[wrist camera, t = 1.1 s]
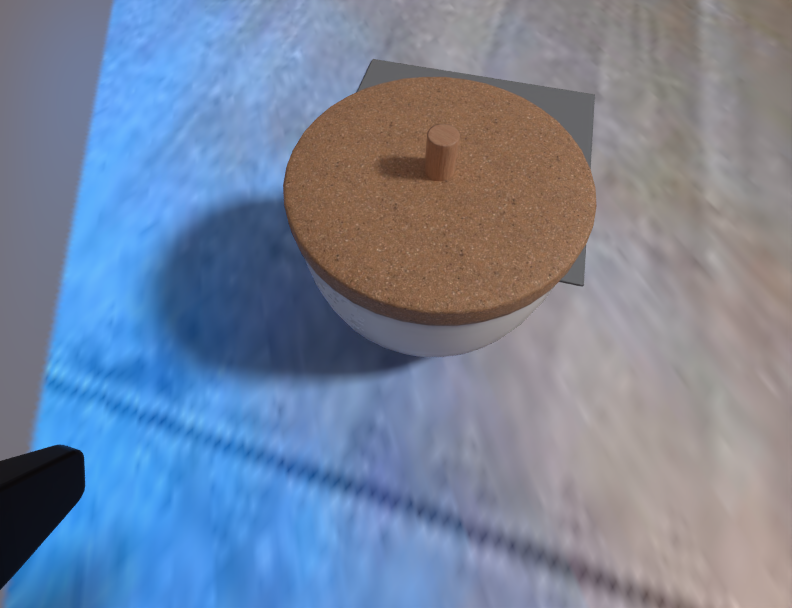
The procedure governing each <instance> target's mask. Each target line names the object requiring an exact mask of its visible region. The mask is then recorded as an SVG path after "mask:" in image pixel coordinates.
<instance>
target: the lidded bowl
mask: <svg viewBox="0 0 792 608" xmlns="http://www.w3.org/2000/svg"><path fill="white" fill-rule="evenodd" d="M283 192H284V206H285V210H286V214H287V218H288V222H289V226H290V229H291V232H292V234H293V236H294V238H295V241H296V243H297V245H298V247H299V249H300V251H301V253H302V255H303V257H304V259H305V261H306V264H307V266H308V268H309V270H310V272H311V275H312V277H313V279H314V281H315V283H316V285H317V286H318V288H319V290H320V291H321V293H322V295H323V296H324V297H325V299H326V300H327V302H328V303H329V304H330V306H331V307H332V309H333V310H334V311H335V312H336V313H337V314H338V315H339V316H340V317H341V318H342V319H343V320H344V321H345V322H346V323H347V324H348V325H349V326H350V327H351V328H352V329H353V330H355V331H356V332H357V333H359V334H360V335H362V336H363V337H365V338H366V339H368V340H369V341H371V342H374V343H376V344H378V345H380V346H382V347H384V348H386V349H389V350H393V351H396V352H399V353H402V354H407V355H413V356H419V357H447V356H455V355H462V354H465V353H469V352H472V351H475V350H479V349H481V348H483V347H485V346H487V345H490V344H492V343H494V342H496V341H498V340H499V339H501V338H502V337H504V336H505V335H507V334H508V333H510V332H511V331H513V330H514V329H515V328H517V327H518V326H520V325H521V324H522V323H523V322H524V321H525V320H526V319H527V318H528V317H529V316H530V315H531V314H532V313H533V312H534V311H535V310H536V309H537V308H538V307H539V306H540V305H541V304H542V303H543V302H544V300H545V299H546V298H547V296H548V295H549V294H550V292H551V291H552V290H553V288H554V287H555V285H556V284H557V283H558V282H559V281H560V280H561V279H562V278H563V277H564V276H565V275H566V274H567V273H568V271H569V270H570V268H571V267H572V265H573V264H574V262H575V261H576V259H577V258H578V256H579V255H580V253H581V252H582V250H583V248H584V247H585V245H586V243H587V240H588V238H589V235H590V233H591V230H592V228H593V225H594V218H595V212H596V192H595V185H594V181H593V177H592V174H591V170H590V167H589V165H588V163H587V161H586V159H585V157H584V154H583V152H582V150H581V149H580V147H579V146H578V145H577V143H576V142H575V140H574V139H573V138H572V136H571V135H570V134H569V133H568V132H567V131H566V130H565V129H564V128H563V126H562V125H561V124H560V123H559V122H558V121H557V120H556V119H554V118H553V117H552V116H550V115H549V114H548V113H546V112H545V111H544V110H542V109H541V108H539V107H538V106H536V105H534V104H533V103H531V102H530V101H528V100H526V99H525V98H523V97H520V96H518V95H516V94H513V93H511V92H509V91H506V90H504V89H501V88H498V87H495V86H492V85H489V84H486V83H481V82H476V81H471V80H466V79H458V78H450V77H418V78H406V79H400V80H395V81H390V82H386V83H382V84H378V85H375V86H372V87H369V88H365V89H363V90H361V91H359V92H357V93H354V94H352V95H350V96H348V97H346V98H344V99H343V100H341V101H339V102H338V103H336V104H334V105H333V106H331V107H330V108H329V109H327V110H326V111H325V112H324V113H323V114H322V115H320V116H319V117H318V118H317V119H316V120H315V121H314V122H313V123H312V124H311V125H310V126H309V127H308V129H307V130H306V131H305V132H304V133H303V135H302V137H301V138H300V140H299V141H298V143H297V145H296V146H295V148H294V149H293V151H292V154H291V157H290V159H289V162H288V164H287V167H286V172H285V178H284V184H283Z"/></svg>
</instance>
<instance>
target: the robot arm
mask: <svg viewBox="0 0 792 608" xmlns="http://www.w3.org/2000/svg"><path fill="white" fill-rule="evenodd" d="M84 490H85V466H84V455H83V453H82V452H81V451H80V450H78V449H75V448H71V447H68V446H65V445H55V446H51V447H47V448H44V449H41V450H37V451H34V452H30V453H27V454H23V455H20V456H16V457H13V458H9V459H6V460H2V461H0V590H1V589H2V587H3V586H4V585H5V584H6V583H7V582H8V581H9V580H10V579H11V578H12V577H13V576H14V575H15V573H16V572H17V571H18V570H19V569H20V568H21V567H22V566H23V565H24V563H25V562H26V561H27V560H28V559H29V558H30V556H31V555H32V554H33V553H34V552H35V551H36V550H37V548H38V547H39V546H40V545H41V544H42V543H43V542H44V540H45V539H46V538H47V537H48V536H49V535H50V534H51V532H52V531H53V530H54V529H55V528H56V527H57V526H58V524H59V523H60V522H61V521H62V520H63V519H64V518H65V516H66V515H67V514H68V513H69V512H70V511H71V510H72V508H73V507H74V506H75V505H76V504H77V503H78V501H79V500H80V498H81V497H82V495H83V493H84Z"/></svg>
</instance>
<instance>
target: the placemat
mask: <svg viewBox="0 0 792 608" xmlns="http://www.w3.org/2000/svg"><path fill="white" fill-rule="evenodd" d="M418 77H450V78H458V79H466V80H471V81H476V82H481V83H486V84H489V85H492V86H495V87H498V88H501V89H504V90H506V91H509V92H511V93H513V94H516V95H518V96H520V97H523V98H525V99H526V100H528V101H530V102H531V103H533V104H534V105H536V106H538V107H539V108H541V109H542V110H544V111H545V112H546V113H548V114H549V115H550V116H552V117H553V118H554V119H556V120H557V121H558V122H559V123H560V124H561V125H562V126H563V128H564V129H565V130H566V131H567V132H568V133H569V134H570V135H571V136H572V138H573V139H574V140H575V142H576V143H577V145H578V146H579V147H580V149H581V150H582V152H583V154H584V157H585V159H586V161H587V163H588V165H589V167H590V169H591V151H592V134H593V117H594V100H595V94H588V93H582V92H576V91H570V90H563V89H557V88H551V87H544V86H538V85H532V84H526V83H519V82H513V81H507V80H501V79H494V78H488V77H482V76H476V75H469V74H463V73H457V72H451V71H444V70H438V69H432V68H426V67H419V66H413V65H407V64H401V63H394V62H388V61H382V60H376V59H373V60H372V62H371V64H370V66H369V68H368V70H367V73H366V75H365V77H364V79H363V81H362V83H361V85H360V88H359V90H358V92H359V91H361V90H363V89H365V88H369V87H372V86H375V85H378V84H382V83H386V82H390V81H395V80H400V79H406V78H418ZM585 254H586V245H585V247H584V248H583V250H582V252H581V253H580V255H579V256H578V258H577V259H576V261H575V262H574V264H573V265H572V267H571V268H570V270H569V271H568V273H567V274H566V275H565V276H564V277H563V278H562V279H561V280H560V281H559V282H564V283H569V284H573V285H578V286H583V285H584V272H585Z"/></svg>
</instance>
